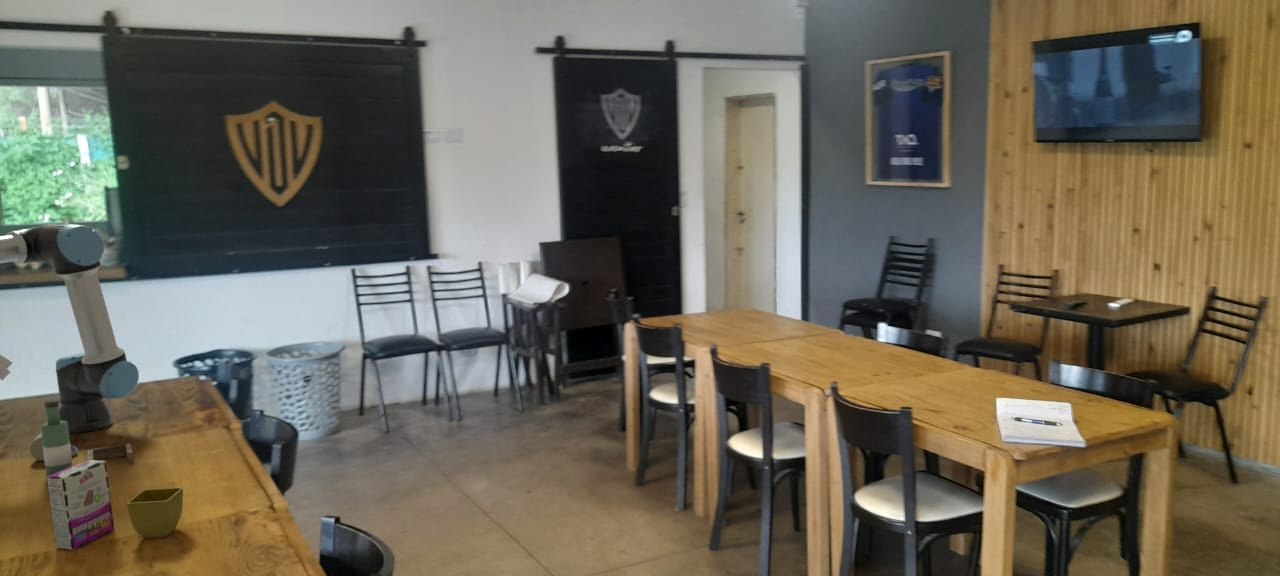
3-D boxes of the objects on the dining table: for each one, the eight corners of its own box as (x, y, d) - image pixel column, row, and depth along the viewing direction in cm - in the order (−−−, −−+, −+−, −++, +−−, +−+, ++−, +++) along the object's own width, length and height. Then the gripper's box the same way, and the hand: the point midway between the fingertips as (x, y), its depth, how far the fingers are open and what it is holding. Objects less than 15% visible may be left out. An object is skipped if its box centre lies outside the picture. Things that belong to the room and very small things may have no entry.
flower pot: (147, 526, 208) (143, 488, 207) (187, 524, 209) (183, 486, 208) (129, 543, 200) (125, 503, 198) (171, 540, 200) (167, 501, 199)
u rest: (88, 460, 257) (87, 449, 256) (131, 453, 262) (130, 442, 261) (89, 470, 248) (88, 459, 247) (133, 463, 253) (132, 452, 253)
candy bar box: (97, 528, 208) (89, 458, 206) (115, 530, 207) (107, 460, 204) (54, 549, 197) (45, 475, 195) (72, 551, 196) (63, 477, 194)
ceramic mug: (29, 463, 255) (26, 436, 254) (39, 454, 263) (36, 428, 262) (72, 460, 258) (70, 433, 257) (81, 451, 265) (79, 425, 264)
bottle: (55, 471, 248) (46, 399, 245) (78, 470, 248) (70, 398, 245) (41, 479, 242) (32, 405, 239) (65, 478, 242) (56, 404, 239)
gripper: (-77, 325, 242) (-1, 373, 252) (-90, 339, 221) (-7, 392, 231) (-54, 303, 244) (20, 352, 254) (-65, 315, 223) (17, 368, 233)
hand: (7, 371), depth 243 cm, fingers open, 13 cm apart
